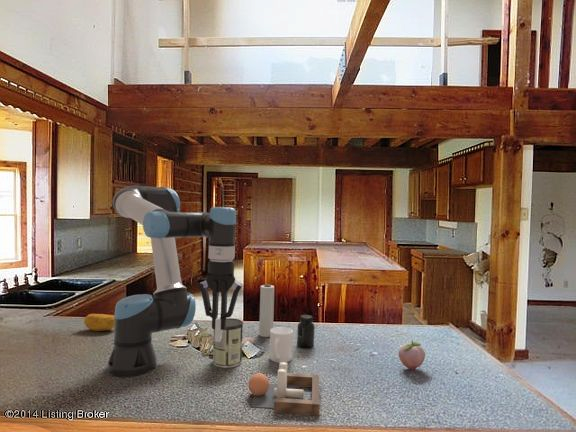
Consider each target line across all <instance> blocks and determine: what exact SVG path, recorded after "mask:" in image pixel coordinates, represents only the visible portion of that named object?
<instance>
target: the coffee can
mask: <svg viewBox="0 0 576 432" xmlns="http://www.w3.org/2000/svg"><path fill="white" fill-rule="evenodd" d="M243 326H244V321H243V320H241V319H239V318H233V317H232V318H231V317H228V318H226V327H225V329H224V330H222V339H221V341H220V342H215V329H213V341H212V342H213V344H212V345H213V347H212V348H213V349H212V353H213V354H212V355H213V356H212V359H213V360H212V364H213V365H214V366H216V367H218V368H222V369H223V368H224V369H230V368H234V367H235V368H236V367H238V366H240V365H241V364H242V363H243Z"/></svg>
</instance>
